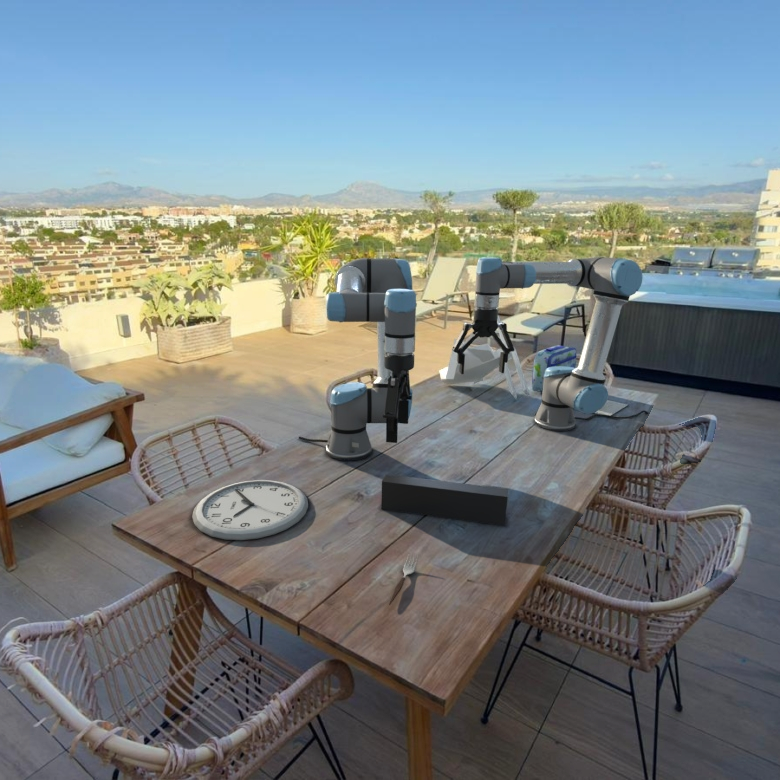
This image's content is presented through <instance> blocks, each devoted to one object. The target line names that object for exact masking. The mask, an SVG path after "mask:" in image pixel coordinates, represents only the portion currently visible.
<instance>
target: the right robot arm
mask: <svg viewBox="0 0 780 780" xmlns="http://www.w3.org/2000/svg"><path fill="white" fill-rule="evenodd" d="M475 274H476V275H475V290H474V291H475V292H474V303H473V305H474V309H473V322H472V323H467V322H463V323H462V329H461V331H460V333H459V335H458V337H457V338H456V339H457V340H456V342H455V344H454V343H453V344H454V346H453V345H452V348H451V351H452V350H453V351H454V352H456V353H457V362H458V363H459V364H460V368H459V372H460V373H461V374H464V362H465V354H464V353H463V352H464V351H465V350H466V349H467V348H468V347H471V345H472V344H473V342H474V341H475V340H476V339H478V337H479V338H493V340H494V341H495V343H496V344H497V345H498V346H499V349H500V348H501V349H502V350H503V352H501V353H500V365H499V367H498V372H499V373H500V374H505V373H504V367H505V363H507V364H508V362H509V360H508V354H509V353H510V352H511V351H514V348H515V346H514V345H513V342H512V339H511V336H510V334H509V332H508V325H507V323H505V322H503V321H501V323H500V324H497V319H498V316H499V309H498V308H499V304H500V303H499V302H500V292H501V289H502V290H503V289H522V290H523V289H530V288H531V287H533V286H534V285H541V284H542V285H543V284H544V285H550V284H551V285H553V284H554V285H555V284H557V285H559V284H560V285H561V284H566V285H567V286H568V287H579V288H584V289H589V290H593V294H592V296H593V298H594V300H595V304H594V307H593V310H592V314H591V317H590V321H589V325H588V328H587V332H586V336H585V339H584V342H583V347H582V350H581V354H580V356H579V361H578V364H577V367H575V368H574V367H565V366H556V367H549V368H547V369H546V370H545V374H544V381H543V391H542V394H541V402H540V405H539V407H538V410H537V411H536V413H535V414H534V424H535V425H536V426H537V427H539V428H542V429H544V430H549V431H556V432H567V431H572V430H574V429H575V428H576V420H580V421H590V420H591V419H593V418H595V417H604V418H610V419H616V420H623V419H624V420H627V419H631V418H636V417H638V416H640V415H642V414H644V413H645V414H646V415H648V414H649V413H648V411H647V410H641V411H639V412H638V413H636V414H632V415H629V416H616V415H611V416H609V415H603V414H596V413H595V412H597V411H598V410H600V409H601V408H602V407H603V406H604V405H605V403H606V401H607V400H608V399H609V391H608V388H607V387H606V386H605V382H606V377H605V375H604V369H605V366H606V363H607V359H608V355H609V353H610V349H611V345H612V342H613V338H614V335H615V332H616V328H617V324H618V321H619V319H620V314H621V312H622V311H621V310H622V308H623V305H626V304H628V303H629V302H630V301H629V300H630V298H631V296H633V295H635V294H636V293H637V292H639V290H640V289H641V287H642V285H643V271H642V269H641V267H640V265H639V264H638V262H636V261H634V260H633V259H628V258H623V257H622V258H621V257H606V256H595V257H586V258H572V259H569V260H568V261H503V260H502V258H501V257H480V258H478V260H477V264H476V270H475ZM498 327H499V329H500V330H501V332H502V334H503V337H504V339H505V342H506V344H507V347H508V348H506V346H505V345H504V344H503V342H502V341H501V338H500V336H498V335H499V334H497V333H496V331H498ZM471 329H472V330H473V331H472V332H471V333H470V335H469V336H468V338H466V337H467V334H468V333H469V331H471ZM465 338H466V339H465ZM463 340H464V343H463V344H462V342H463ZM461 344H462V345H461ZM460 346H461V347H460ZM513 346H514V347H513ZM459 347H460V348H459ZM574 410H575V411H577V412H580V413H583V414H587V415H590V414H592V415H590V416H589V417H580V416H579V417H577V416H575V413H574Z"/></svg>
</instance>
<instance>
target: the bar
mask: <svg viewBox="0 0 780 780" xmlns="http://www.w3.org/2000/svg"><path fill="white" fill-rule="evenodd" d="M508 496H509V488H503V487H497V486H496V487H495V486H487V485H478V484H469V483H462V482H454V481H445V480H439V479H438V480H437V479H429V478H420V477H412V476H404V475H395V474H388V473H387V474H386V473H385V474H384V476H383V478H382V480H381V504H380V505H381V506H380V507H381V510H385V511H392V512H400V513H407V514H415V515H422V516H428V517H436V518H443V519H452V520H459V521H466V522H474V523H480V524H488V525H496V526H504V527H505V526H506V518H507V509H508V508H507V507H508V498H509V497H508Z"/></svg>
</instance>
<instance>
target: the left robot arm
mask: <svg viewBox="0 0 780 780" xmlns="http://www.w3.org/2000/svg"><path fill="white" fill-rule="evenodd" d="M334 285H335V288H336V290H335V292H328V293H327V294H326V301H325V303H326V305H325V306H326V307H325V308H326V319H327V320H328V321H329V322H337V323H338V322H339V323H376V325H377V327H376V328H377V329H376V331H377V335H376V336H377V339H376V340H377V342H376V343H377V348H376V349H377V351H376V353H377V355H376V356H377V357H376V358H377V359H376V360H377V363H376V364H377V367H376V368H377V371H376V373H377V377H376V378H375V380H374V381H373V382H372V388H371V387H370V388H369V387H367V384H366V383H364V382H359V381H357V382H356V381H355V382H353V381H351V382H345V383H343V384H339V385H337V386H335V387H334V388H333V389H332V390H331V393H330V403H329V404H330V409H331V410H330V423H331V424H330V426H331V429H330V430H331V431H330V433H329V435H328V439H317V438H314V439H313V438H307V437H304V436H298V439H299V440H302V441H305V442H309V443H326V446H325V450H326V451H325V452H326V455H327V456H329V457H330V458H332V459H335V460H337V461H347V462H348V461H349V462H351V461H359V460H362V459H366V458H367V457H369V456H370V455H371V454H372V449H373V448H372V443H371V441H370V437H369V435H368V431H367V424H386V425H385V443H391V444H392V443H393V444H397V443H398V432H399V430H398V429H399V427H398V425H399V424H403V425H408V424H409V419H410V416H411V411H412V404H413V392H414V391H413V388H412V387H411V381H410V371H412V370H413V369H414V367H415V354H414V352H415V351H416V318H417V317H416V315H417V307H418V306H417V305H418V303H417V293H416V291H415V290H414V289H413V276H412V270H411V265H410V263H409V262H408V260H406V259H401V258H395V257H394V258H367V257H365V258H362V257H361V258H357V259H353V260H350V261H348V262H347V263H345V264H343V265H341V266H340V268H338V270H337V271H336V274H335V277H334Z"/></svg>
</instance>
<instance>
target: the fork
mask: <svg viewBox="0 0 780 780" xmlns="http://www.w3.org/2000/svg"><path fill="white" fill-rule="evenodd" d="M415 556H416V555H414V556H413V554H411V555H410V554H408V555H407V558H406V560H405V563H404V565H403V568H402V572H403V576H402V578H401V579H400V581H398V583H397V584H396V586H395V588H394V591H393V593H392V596H391V598H390V600H389V603H388V605H389V606H391V605H392V603H393V602H394V600H395V599H396V597H397V596H398V594H399V593H400V592H401V590H402V588H403V585H404V583H405V580H406V577H407V576H409V575H411V574H413V573H415V571H416V567H417V562H418V559H419V556H416V557H415ZM409 557H410V558H409ZM412 557H413V560H412ZM415 558H416V559H415ZM411 561H412V562H411ZM414 562H415V563H414Z"/></svg>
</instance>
